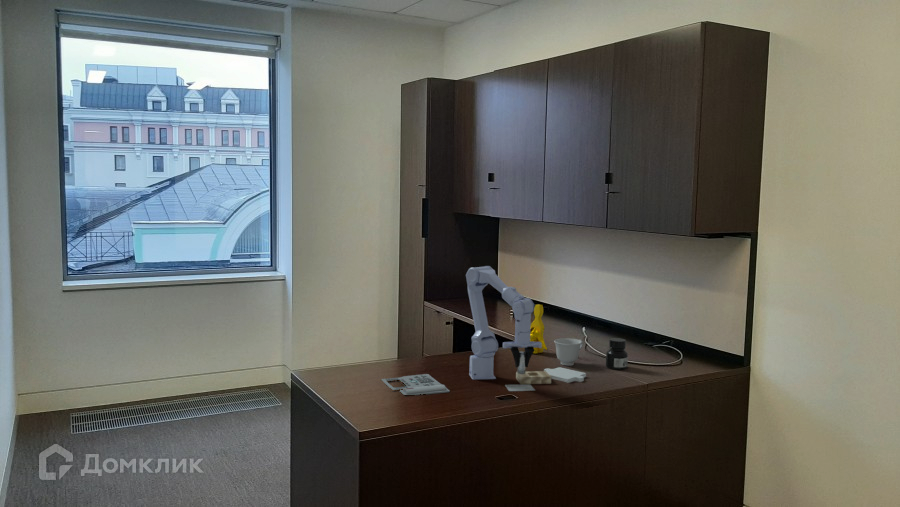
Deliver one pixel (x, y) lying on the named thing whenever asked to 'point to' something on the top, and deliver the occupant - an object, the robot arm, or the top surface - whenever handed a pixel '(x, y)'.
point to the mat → (520, 387)
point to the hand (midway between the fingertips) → (521, 366)
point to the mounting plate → (565, 374)
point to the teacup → (568, 350)
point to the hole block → (534, 377)
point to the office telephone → (418, 385)
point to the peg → (522, 363)
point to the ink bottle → (617, 354)
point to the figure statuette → (537, 329)
